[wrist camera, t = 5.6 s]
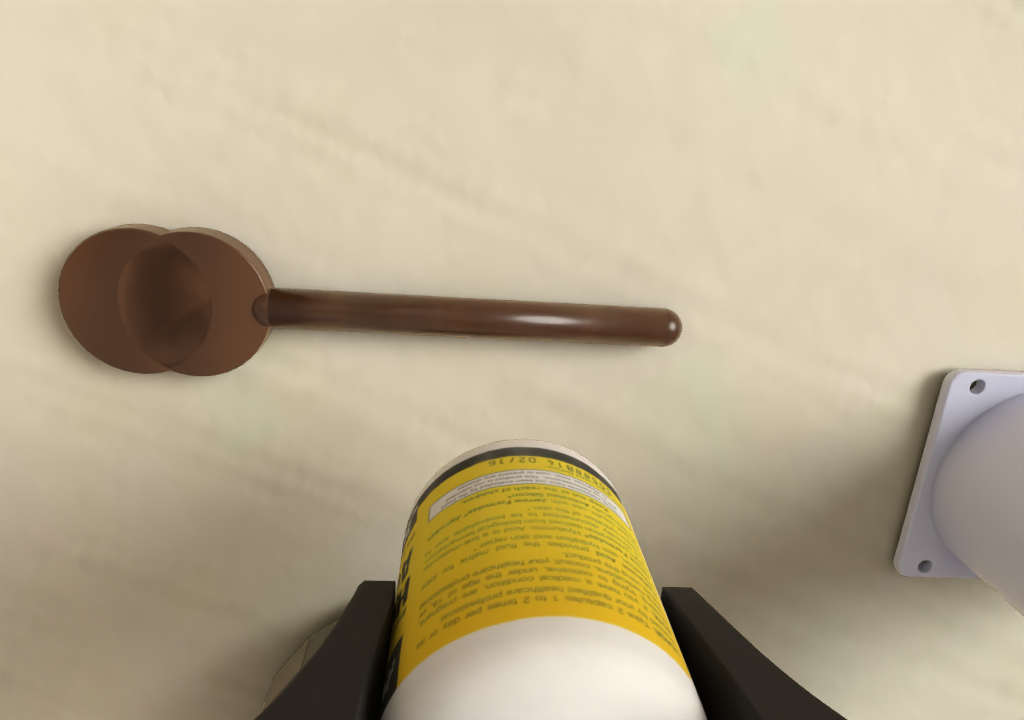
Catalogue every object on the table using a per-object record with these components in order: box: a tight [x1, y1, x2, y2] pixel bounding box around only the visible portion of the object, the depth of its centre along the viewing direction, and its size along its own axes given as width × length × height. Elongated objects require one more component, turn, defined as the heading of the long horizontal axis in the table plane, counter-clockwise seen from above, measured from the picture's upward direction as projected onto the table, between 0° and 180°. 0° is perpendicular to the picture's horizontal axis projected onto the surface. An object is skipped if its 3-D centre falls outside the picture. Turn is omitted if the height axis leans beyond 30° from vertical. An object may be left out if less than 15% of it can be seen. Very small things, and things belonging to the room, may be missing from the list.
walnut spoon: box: [58, 224, 682, 376], centre depth 22 cm, size 19×4×1 cm, turn 86°
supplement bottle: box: [378, 439, 707, 720], centre depth 13 cm, size 5×5×10 cm
